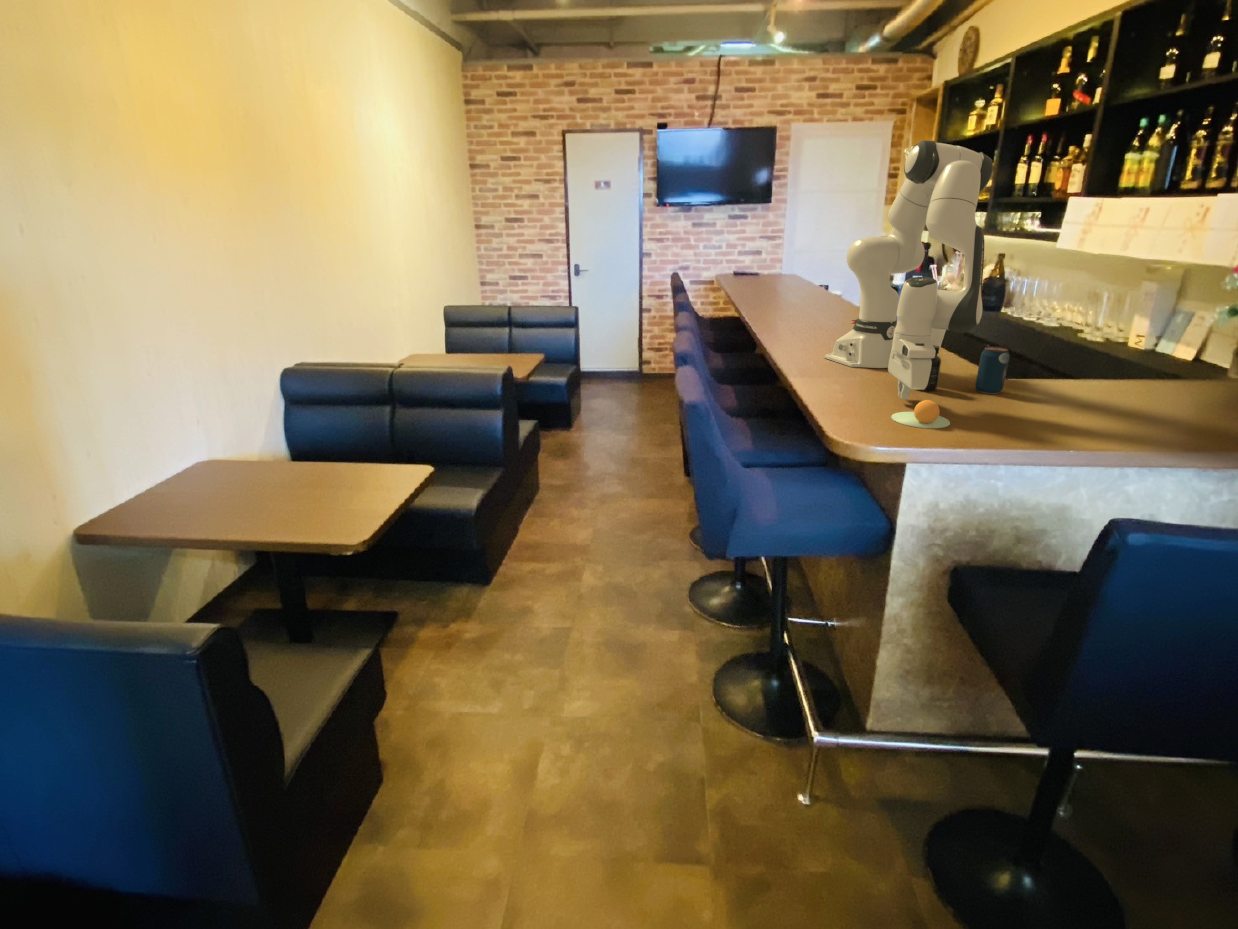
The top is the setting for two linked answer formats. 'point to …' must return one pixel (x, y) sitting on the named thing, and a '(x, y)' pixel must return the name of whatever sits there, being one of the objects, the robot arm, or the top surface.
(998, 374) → the soda can
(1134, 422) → the top surface
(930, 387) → the supplement bottle
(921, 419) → the ball
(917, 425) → the pale green disc
